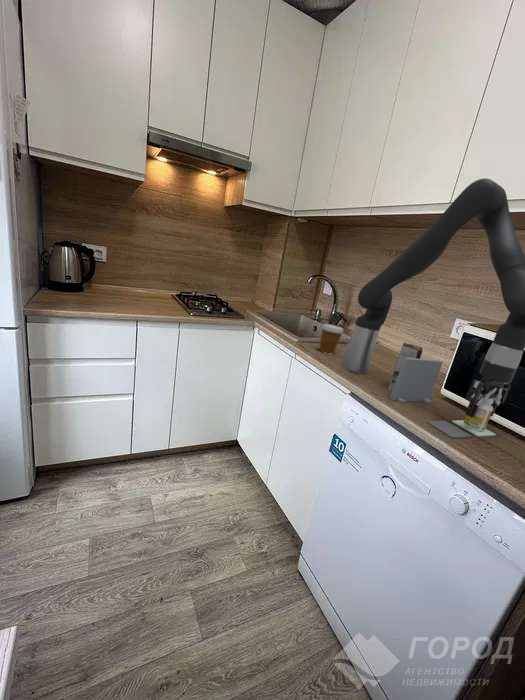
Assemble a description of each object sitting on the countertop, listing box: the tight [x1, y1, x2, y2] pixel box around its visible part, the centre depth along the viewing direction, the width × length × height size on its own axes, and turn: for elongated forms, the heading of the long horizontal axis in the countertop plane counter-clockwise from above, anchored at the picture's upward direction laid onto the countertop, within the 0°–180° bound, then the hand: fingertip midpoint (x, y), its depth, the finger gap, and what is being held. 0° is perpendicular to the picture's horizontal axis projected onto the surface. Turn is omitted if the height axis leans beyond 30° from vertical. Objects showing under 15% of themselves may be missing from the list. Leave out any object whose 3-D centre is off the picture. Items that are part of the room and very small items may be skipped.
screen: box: [388, 358, 444, 405], centre depth 106 cm, size 5×16×14 cm, turn 114°
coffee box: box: [387, 342, 423, 392], centre depth 114 cm, size 9×6×16 cm
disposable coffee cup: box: [319, 323, 344, 353], centre depth 147 cm, size 10×10×12 cm
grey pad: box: [426, 420, 473, 440], centre depth 90 cm, size 8×8×1 cm
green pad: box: [451, 419, 497, 437], centre depth 95 cm, size 8×8×1 cm
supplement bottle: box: [463, 397, 494, 431], centre depth 94 cm, size 5×5×10 cm
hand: (478, 415), depth 94 cm, fingers open, 8 cm apart
